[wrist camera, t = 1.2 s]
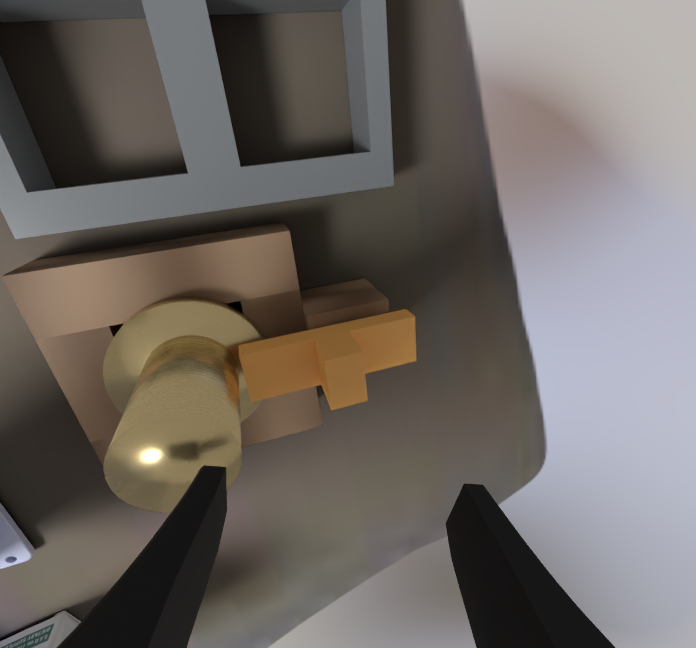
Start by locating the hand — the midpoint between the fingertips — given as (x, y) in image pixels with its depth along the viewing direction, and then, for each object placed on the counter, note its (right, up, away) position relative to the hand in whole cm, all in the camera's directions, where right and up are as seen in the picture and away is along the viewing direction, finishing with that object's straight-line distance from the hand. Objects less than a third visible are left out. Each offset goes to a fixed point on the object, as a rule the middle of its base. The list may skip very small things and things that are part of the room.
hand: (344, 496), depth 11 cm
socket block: (-6, +5, +9) cm, 12 cm away
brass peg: (-8, +4, +8) cm, 12 cm away
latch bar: (-1, +4, +6) cm, 8 cm away
